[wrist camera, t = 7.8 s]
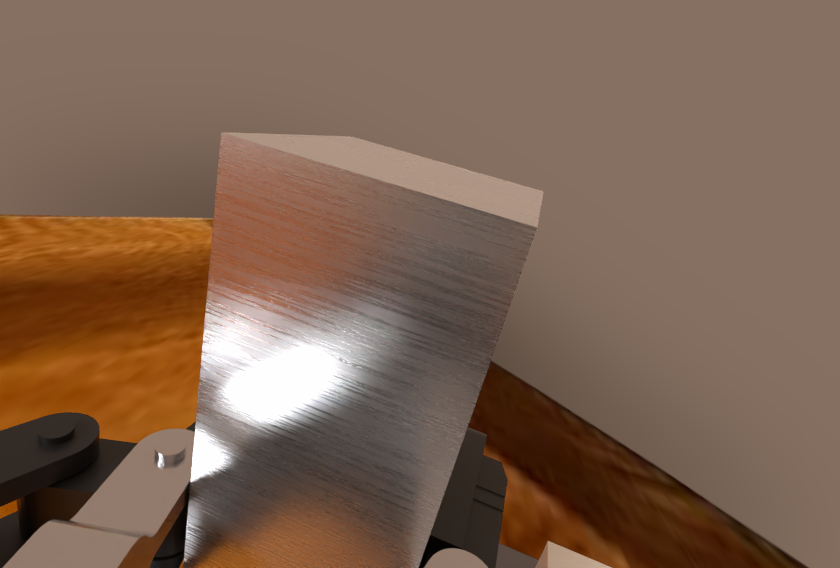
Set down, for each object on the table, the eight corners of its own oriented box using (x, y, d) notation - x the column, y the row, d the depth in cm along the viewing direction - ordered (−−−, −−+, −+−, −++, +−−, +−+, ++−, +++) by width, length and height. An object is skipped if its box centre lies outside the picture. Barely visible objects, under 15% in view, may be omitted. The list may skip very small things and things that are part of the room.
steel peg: (163, 796, 11) (221, 132, 6) (258, 635, 15) (351, 136, 9) (307, 884, 11) (536, 226, 5) (370, 692, 14) (543, 191, 9)
